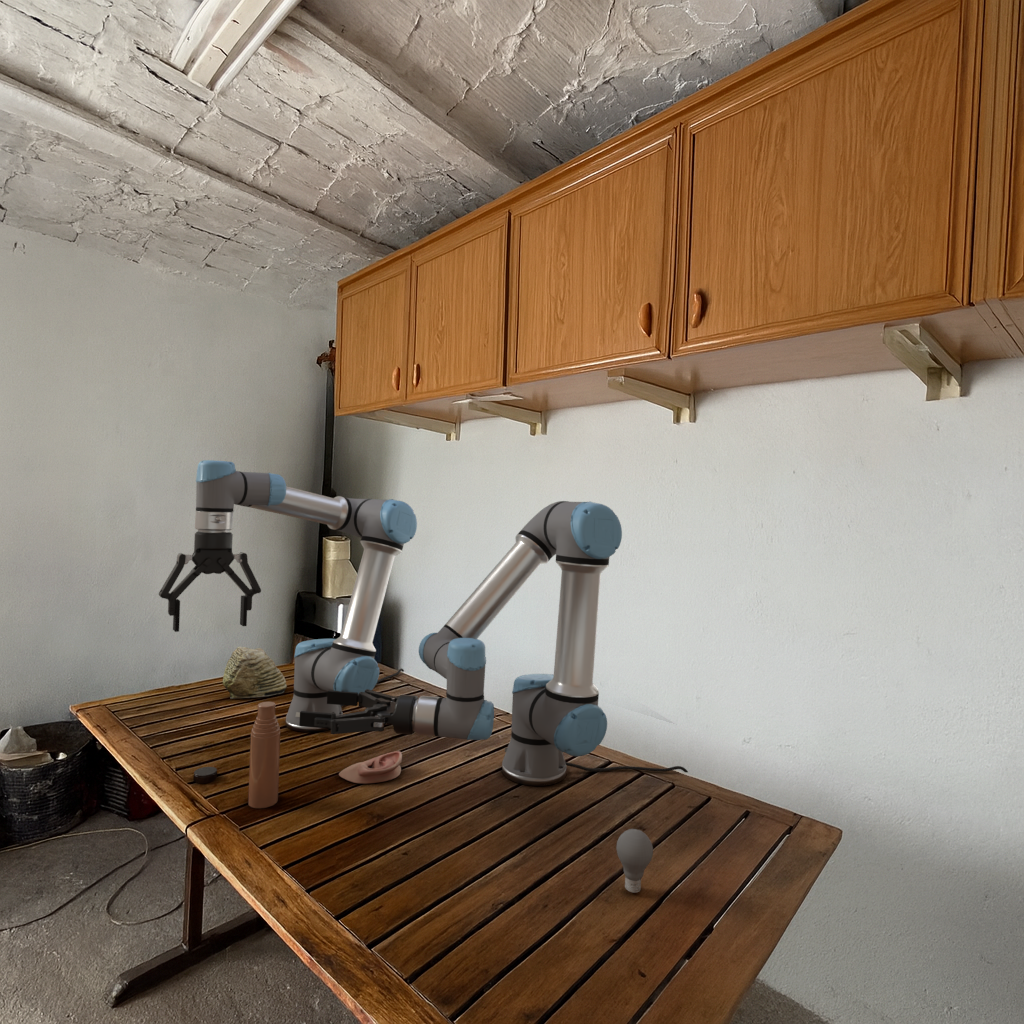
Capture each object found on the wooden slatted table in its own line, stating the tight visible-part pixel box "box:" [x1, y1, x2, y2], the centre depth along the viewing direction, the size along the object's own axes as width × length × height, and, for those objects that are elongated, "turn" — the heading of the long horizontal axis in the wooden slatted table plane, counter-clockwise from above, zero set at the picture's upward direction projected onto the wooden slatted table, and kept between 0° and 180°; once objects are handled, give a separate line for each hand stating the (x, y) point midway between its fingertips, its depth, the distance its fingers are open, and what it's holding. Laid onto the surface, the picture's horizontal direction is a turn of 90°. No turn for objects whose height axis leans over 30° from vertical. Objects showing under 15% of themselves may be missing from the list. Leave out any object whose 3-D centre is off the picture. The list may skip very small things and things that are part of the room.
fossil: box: [222, 646, 288, 699], centre depth 198 cm, size 9×18×15 cm, turn 132°
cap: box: [193, 766, 218, 785], centre depth 140 cm, size 5×5×2 cm
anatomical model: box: [338, 750, 403, 784], centre depth 146 cm, size 13×4×12 cm
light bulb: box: [615, 828, 654, 894], centre depth 106 cm, size 6×6×10 cm
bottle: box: [247, 701, 281, 809], centre depth 130 cm, size 6×6×20 cm
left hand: (210, 627), depth 139 cm, fingers open, 13 cm apart
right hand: (314, 707), depth 129 cm, fingers open, 13 cm apart
